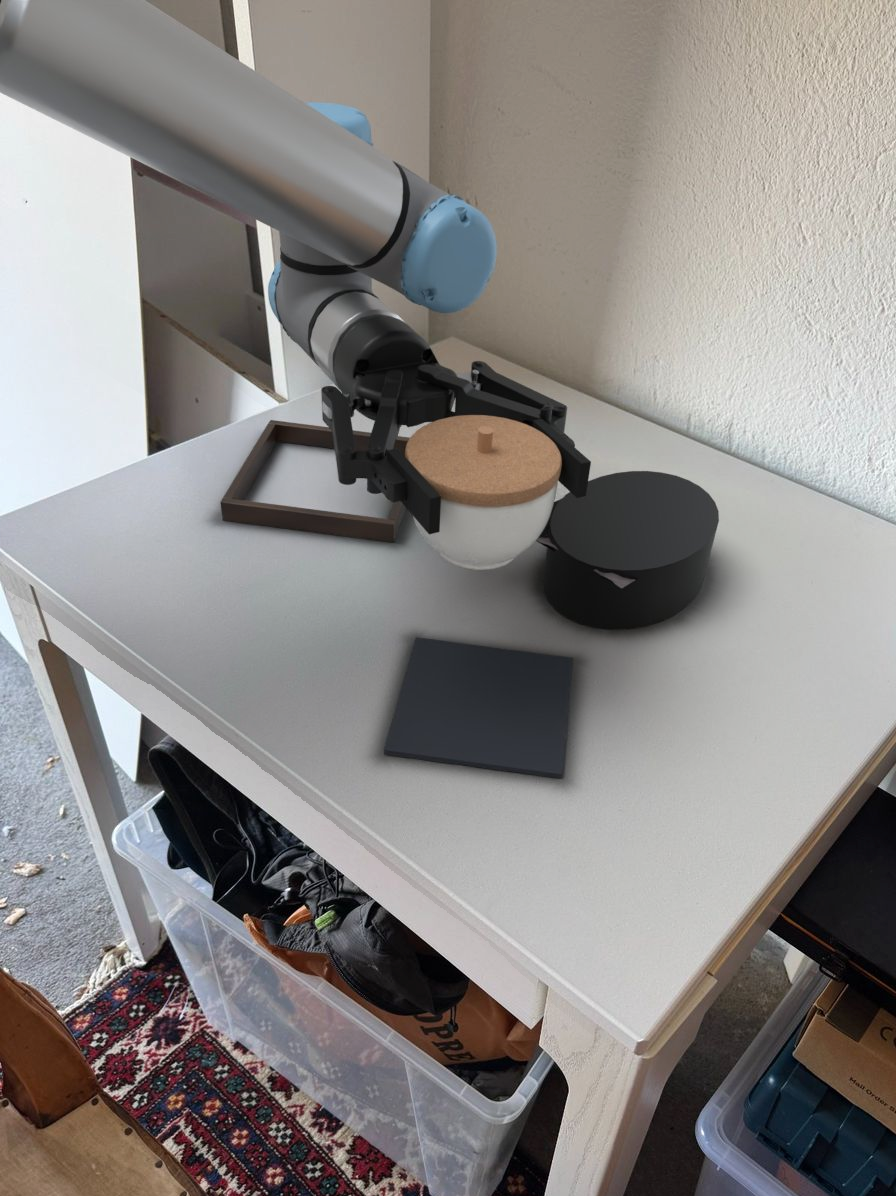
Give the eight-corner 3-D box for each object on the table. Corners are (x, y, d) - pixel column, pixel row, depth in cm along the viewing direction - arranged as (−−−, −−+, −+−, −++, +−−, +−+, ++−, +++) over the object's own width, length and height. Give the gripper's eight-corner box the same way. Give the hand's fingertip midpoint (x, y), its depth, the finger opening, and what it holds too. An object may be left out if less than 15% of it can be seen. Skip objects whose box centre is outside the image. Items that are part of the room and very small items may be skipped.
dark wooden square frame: (222, 520, 94) (220, 501, 92) (271, 436, 106) (270, 419, 104) (393, 542, 93) (393, 524, 92) (423, 456, 105) (424, 439, 104)
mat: (383, 754, 73) (383, 749, 73) (415, 641, 83) (415, 636, 83) (561, 778, 73) (562, 774, 73) (572, 662, 83) (573, 657, 82)
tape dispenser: (736, 579, 95) (756, 509, 90) (622, 653, 84) (638, 577, 79) (614, 518, 102) (627, 450, 97) (494, 579, 91) (502, 505, 86)
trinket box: (572, 577, 72) (590, 460, 66) (428, 600, 69) (433, 480, 62) (519, 498, 79) (530, 386, 73) (386, 515, 76) (386, 400, 70)
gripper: (497, 380, 88) (643, 508, 74) (237, 427, 78) (350, 584, 65) (504, 295, 83) (662, 415, 69) (227, 334, 73) (348, 483, 60)
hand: (512, 497), depth 67 cm, fingers closed on trinket box, 11 cm apart
